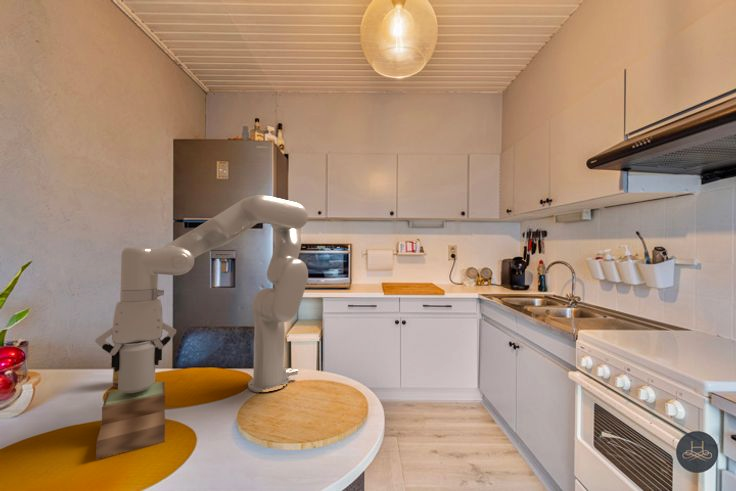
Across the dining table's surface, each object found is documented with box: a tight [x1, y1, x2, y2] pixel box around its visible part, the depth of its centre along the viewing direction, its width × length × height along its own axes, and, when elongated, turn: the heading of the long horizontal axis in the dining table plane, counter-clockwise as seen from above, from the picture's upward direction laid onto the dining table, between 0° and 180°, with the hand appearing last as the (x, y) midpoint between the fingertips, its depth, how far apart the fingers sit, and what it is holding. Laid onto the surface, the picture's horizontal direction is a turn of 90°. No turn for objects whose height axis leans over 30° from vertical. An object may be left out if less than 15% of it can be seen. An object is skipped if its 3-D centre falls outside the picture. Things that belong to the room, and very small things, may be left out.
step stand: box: [95, 381, 166, 460], centre depth 75 cm, size 12×16×8 cm
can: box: [117, 340, 156, 393], centre depth 78 cm, size 8×8×12 cm
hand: (137, 366), depth 78 cm, fingers closed on can, 7 cm apart
